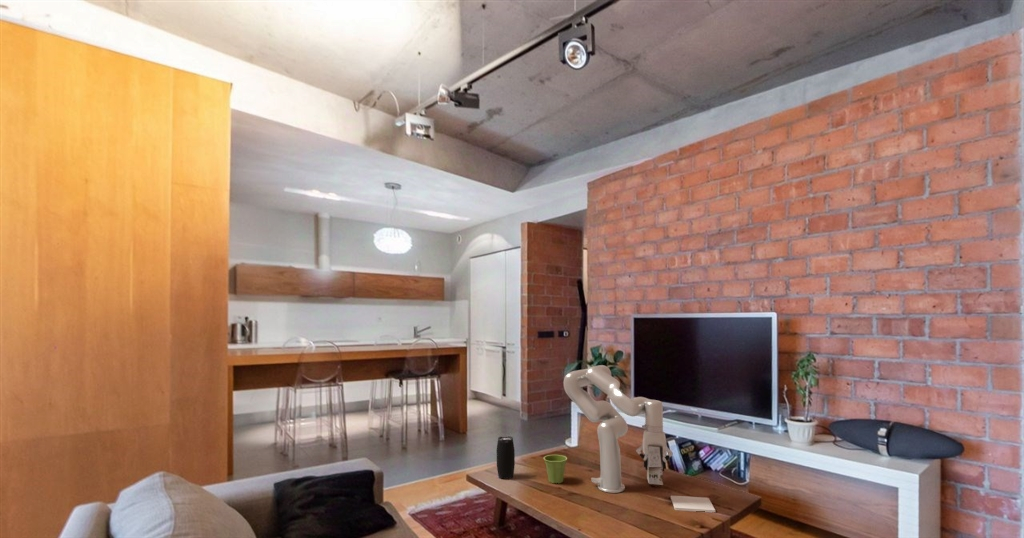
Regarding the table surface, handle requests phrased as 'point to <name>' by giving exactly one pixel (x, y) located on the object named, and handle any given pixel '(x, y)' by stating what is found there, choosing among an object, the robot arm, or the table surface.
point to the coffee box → (655, 465)
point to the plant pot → (555, 467)
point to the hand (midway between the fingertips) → (654, 469)
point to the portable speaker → (505, 457)
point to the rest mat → (692, 504)
